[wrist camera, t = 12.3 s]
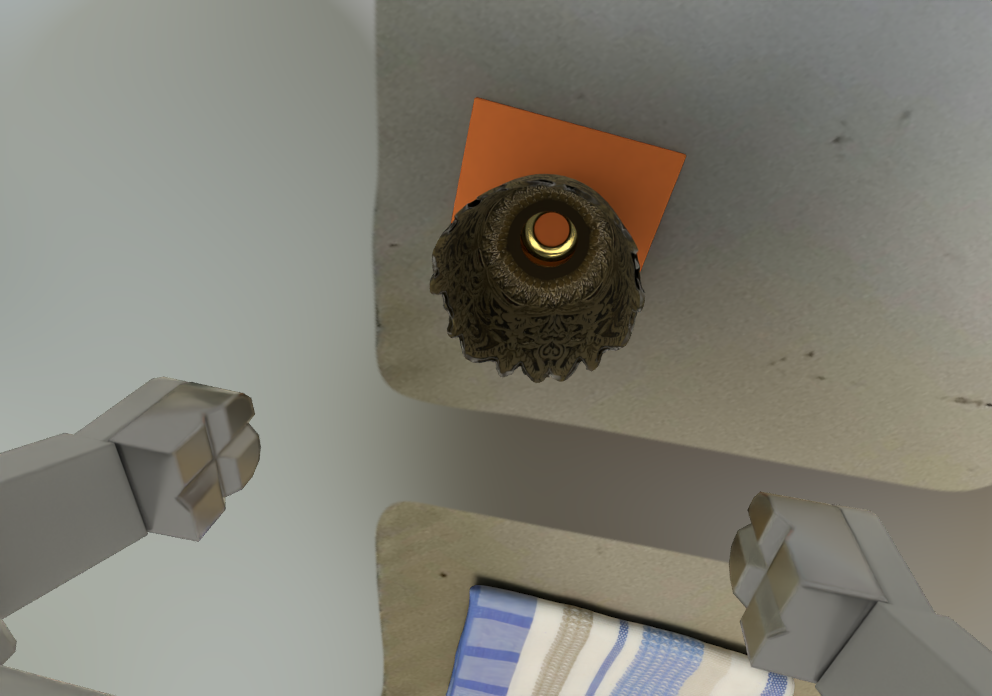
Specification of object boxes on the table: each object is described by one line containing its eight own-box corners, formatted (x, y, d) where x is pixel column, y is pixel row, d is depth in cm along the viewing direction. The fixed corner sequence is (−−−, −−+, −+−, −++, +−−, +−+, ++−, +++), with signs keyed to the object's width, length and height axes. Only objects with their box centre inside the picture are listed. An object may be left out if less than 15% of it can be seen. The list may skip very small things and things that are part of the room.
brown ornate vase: (458, 165, 24) (401, 207, 17) (620, 128, 22) (628, 158, 15) (495, 311, 28) (460, 394, 21) (640, 289, 26) (654, 373, 19)
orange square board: (476, 96, 23) (474, 97, 23) (685, 154, 23) (686, 155, 22) (440, 288, 28) (438, 291, 28) (612, 338, 28) (612, 342, 27)
